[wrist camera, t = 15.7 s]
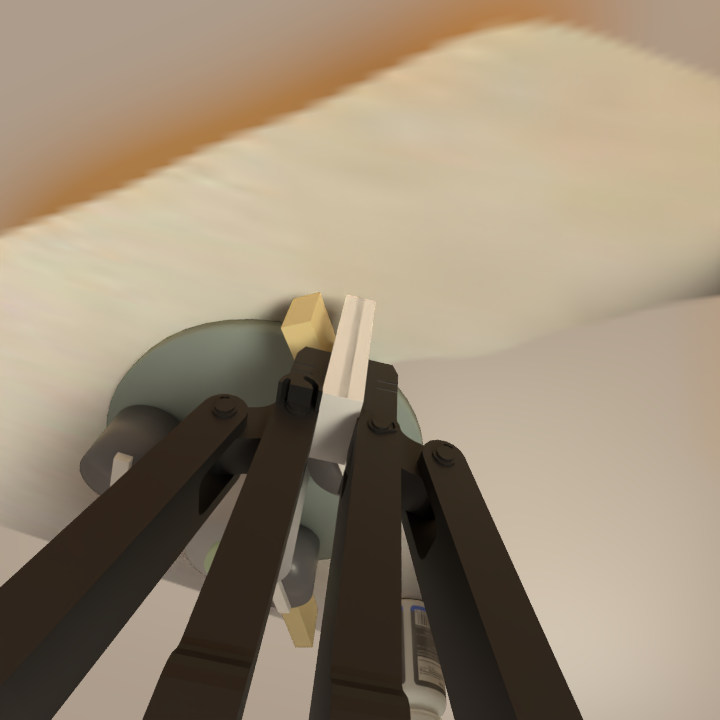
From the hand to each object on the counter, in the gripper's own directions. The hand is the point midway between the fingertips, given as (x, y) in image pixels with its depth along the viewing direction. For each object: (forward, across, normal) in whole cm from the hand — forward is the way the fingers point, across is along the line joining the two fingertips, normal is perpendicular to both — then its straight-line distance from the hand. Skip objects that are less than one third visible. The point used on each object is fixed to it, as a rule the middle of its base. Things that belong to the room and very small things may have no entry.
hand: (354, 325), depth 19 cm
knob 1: (+1, -10, -13) cm, 16 cm away
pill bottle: (+2, +10, -26) cm, 27 cm away
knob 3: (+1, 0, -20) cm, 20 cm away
